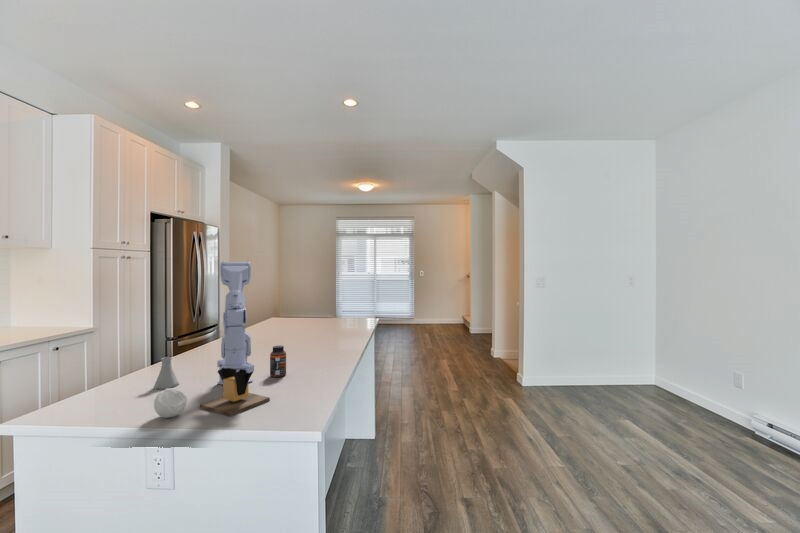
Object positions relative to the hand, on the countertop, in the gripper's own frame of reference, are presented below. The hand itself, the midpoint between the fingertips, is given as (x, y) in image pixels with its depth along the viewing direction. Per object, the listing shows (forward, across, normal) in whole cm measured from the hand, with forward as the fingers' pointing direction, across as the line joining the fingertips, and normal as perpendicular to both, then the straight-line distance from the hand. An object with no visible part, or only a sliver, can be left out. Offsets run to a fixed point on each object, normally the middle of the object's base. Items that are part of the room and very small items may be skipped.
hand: (235, 393), depth 114 cm
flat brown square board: (+3, 0, 0) cm, 3 cm away
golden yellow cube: (+1, 0, 0) cm, 1 cm away
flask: (+4, -37, 0) cm, 37 cm away
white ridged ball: (+4, -8, -15) cm, 17 cm away
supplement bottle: (+4, -12, +28) cm, 31 cm away
